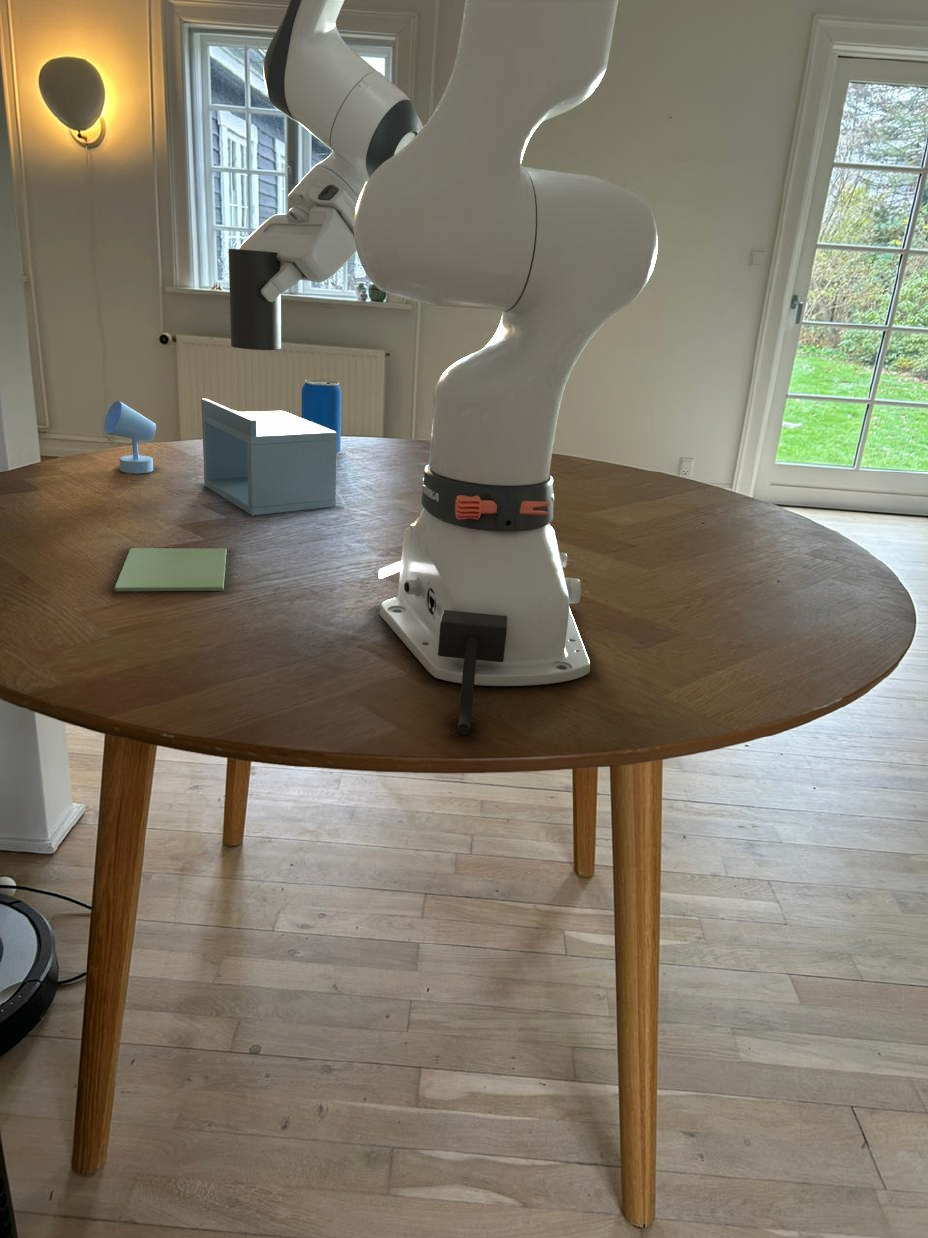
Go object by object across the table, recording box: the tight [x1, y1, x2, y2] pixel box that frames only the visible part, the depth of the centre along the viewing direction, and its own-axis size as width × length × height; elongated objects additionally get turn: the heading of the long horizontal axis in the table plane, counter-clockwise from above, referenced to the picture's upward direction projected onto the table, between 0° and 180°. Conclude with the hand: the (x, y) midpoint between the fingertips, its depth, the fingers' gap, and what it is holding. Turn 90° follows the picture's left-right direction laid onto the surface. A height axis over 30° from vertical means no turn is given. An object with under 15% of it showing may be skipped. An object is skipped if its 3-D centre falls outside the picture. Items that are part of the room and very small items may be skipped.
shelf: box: [200, 397, 338, 517], centre depth 115 cm, size 16×12×12 cm
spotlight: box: [103, 400, 157, 474], centre depth 122 cm, size 5×10×7 cm
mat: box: [114, 547, 227, 592], centre depth 88 cm, size 12×10×1 cm
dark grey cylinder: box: [228, 248, 282, 351], centre depth 103 cm, size 6×6×11 cm
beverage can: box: [300, 378, 343, 454], centre depth 141 cm, size 6×6×12 cm
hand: (250, 295), depth 102 cm, fingers closed on dark grey cylinder, 6 cm apart
